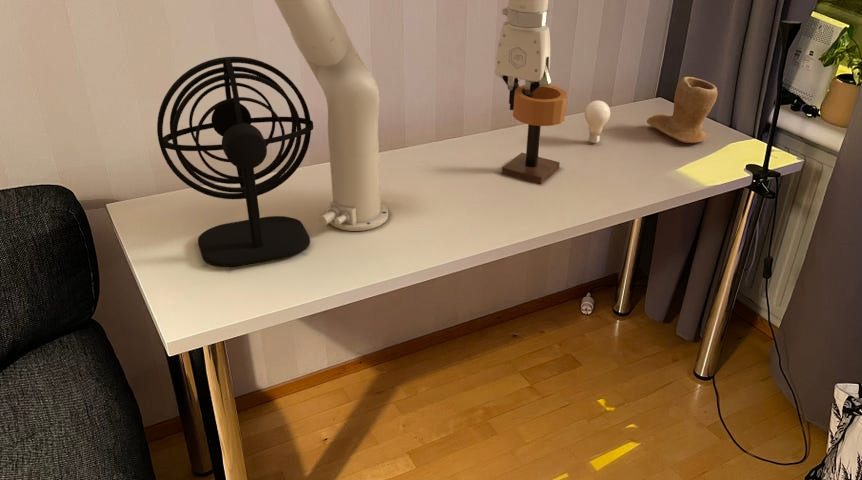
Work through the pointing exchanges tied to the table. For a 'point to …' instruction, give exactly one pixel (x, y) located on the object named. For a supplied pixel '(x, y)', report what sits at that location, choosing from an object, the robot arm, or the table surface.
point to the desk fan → (240, 162)
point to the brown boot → (687, 111)
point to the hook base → (530, 169)
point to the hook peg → (532, 145)
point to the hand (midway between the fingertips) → (519, 108)
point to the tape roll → (540, 106)
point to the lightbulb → (596, 118)
